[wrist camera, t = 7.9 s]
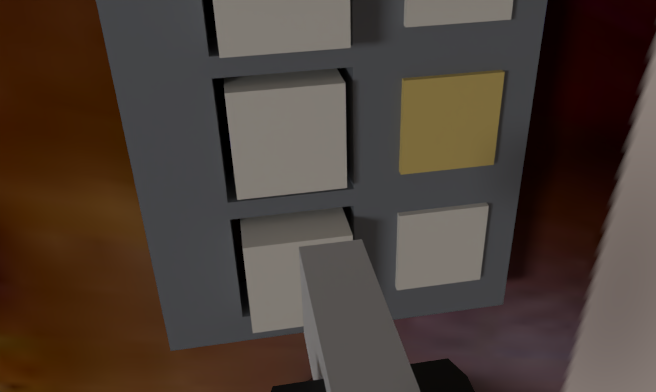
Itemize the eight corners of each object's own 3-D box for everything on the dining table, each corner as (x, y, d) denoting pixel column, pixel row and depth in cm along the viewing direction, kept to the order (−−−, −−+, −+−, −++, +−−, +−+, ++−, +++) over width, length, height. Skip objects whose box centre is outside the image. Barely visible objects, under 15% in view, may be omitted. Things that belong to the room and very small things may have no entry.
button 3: (223, 72, 24) (224, 93, 22) (333, 63, 24) (345, 83, 22) (234, 172, 26) (237, 199, 24) (336, 161, 27) (347, 187, 24)
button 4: (239, 216, 26) (242, 248, 24) (341, 205, 26) (352, 235, 24) (249, 297, 28) (252, 333, 26) (343, 285, 29) (353, 319, 27)
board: (29, -401, 17) (-1, -445, 15) (562, -391, 19) (615, -428, 17) (173, 313, 30) (170, 355, 27) (482, 272, 32) (505, 308, 30)
